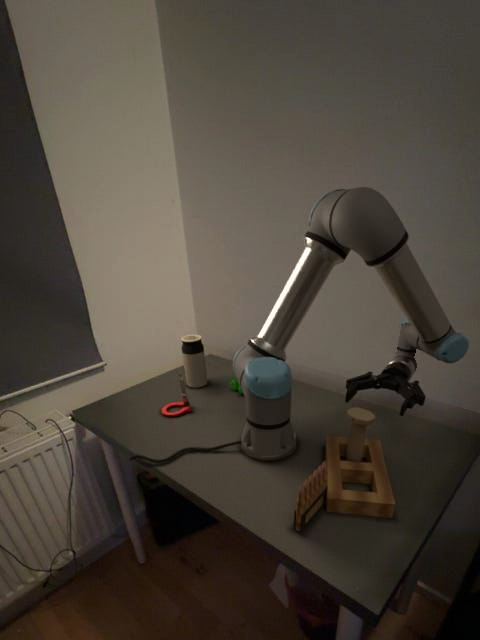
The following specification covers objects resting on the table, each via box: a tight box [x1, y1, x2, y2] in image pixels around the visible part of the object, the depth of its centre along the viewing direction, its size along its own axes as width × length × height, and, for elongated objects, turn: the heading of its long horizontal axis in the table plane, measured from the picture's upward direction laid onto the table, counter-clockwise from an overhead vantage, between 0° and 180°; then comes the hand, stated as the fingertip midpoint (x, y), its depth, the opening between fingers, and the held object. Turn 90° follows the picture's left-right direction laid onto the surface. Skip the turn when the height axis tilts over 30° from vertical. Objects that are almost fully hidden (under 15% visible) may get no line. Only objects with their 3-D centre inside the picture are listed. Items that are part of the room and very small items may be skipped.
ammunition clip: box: [292, 460, 328, 535], centre depth 71 cm, size 11×2×12 cm, turn 140°
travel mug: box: [180, 334, 208, 388], centre depth 128 cm, size 8×8×18 cm
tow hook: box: [161, 371, 192, 418], centre depth 113 cm, size 8×13×9 cm
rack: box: [324, 435, 396, 519], centre depth 82 cm, size 13×23×4 cm, turn 169°
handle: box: [345, 406, 376, 462], centre depth 83 cm, size 5×6×15 cm
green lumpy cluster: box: [229, 374, 244, 396], centre depth 126 cm, size 15×15×7 cm
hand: (373, 404), depth 87 cm, fingers open, 13 cm apart
